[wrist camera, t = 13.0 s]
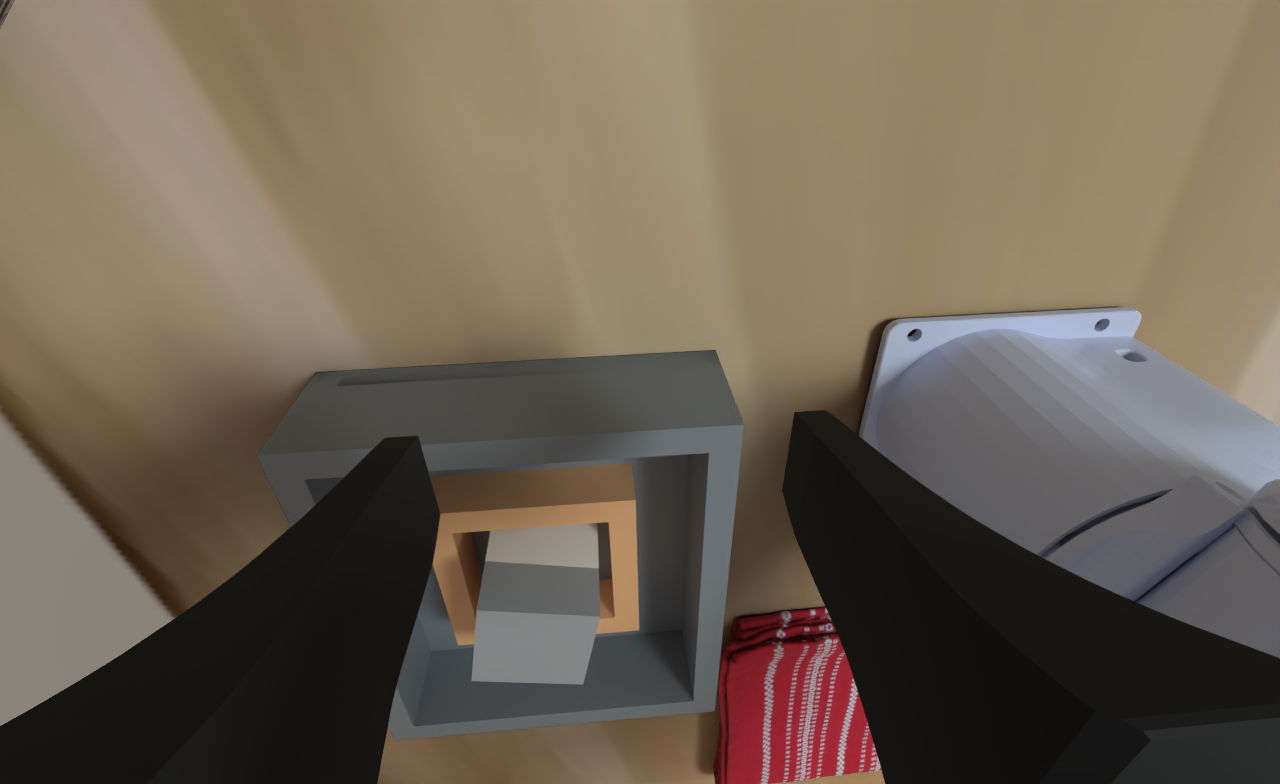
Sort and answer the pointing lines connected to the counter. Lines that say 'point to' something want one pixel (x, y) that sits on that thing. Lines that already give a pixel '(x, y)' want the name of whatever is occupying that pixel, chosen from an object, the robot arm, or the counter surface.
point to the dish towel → (789, 703)
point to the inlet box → (547, 517)
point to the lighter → (4, 9)
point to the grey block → (538, 605)
